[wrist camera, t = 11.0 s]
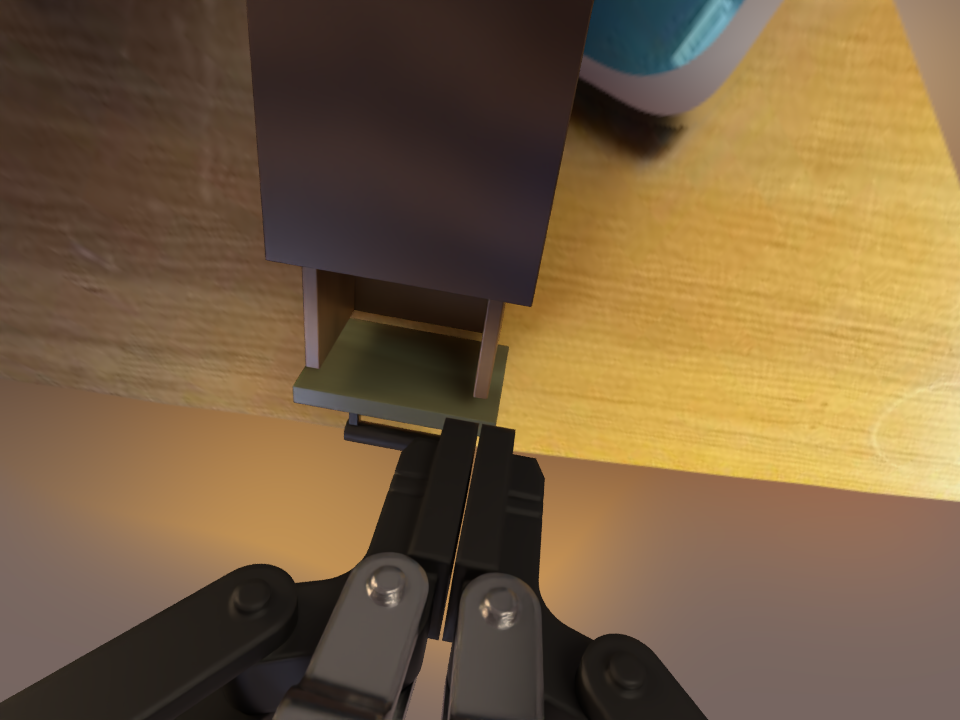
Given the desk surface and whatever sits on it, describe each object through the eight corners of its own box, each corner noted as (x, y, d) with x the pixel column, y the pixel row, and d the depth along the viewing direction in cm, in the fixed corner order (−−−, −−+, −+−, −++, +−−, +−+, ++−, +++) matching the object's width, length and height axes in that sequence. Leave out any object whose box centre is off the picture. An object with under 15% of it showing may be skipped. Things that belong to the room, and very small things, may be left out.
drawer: (496, 415, 44) (482, 497, 38) (337, 386, 44) (296, 462, 38) (544, 156, 34) (536, 208, 27) (336, 121, 34) (279, 164, 28)
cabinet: (541, 227, 37) (531, 307, 29) (331, 191, 37) (265, 260, 29) (600, -74, 28) (609, -76, 20) (328, -116, 29) (235, -135, 21)
